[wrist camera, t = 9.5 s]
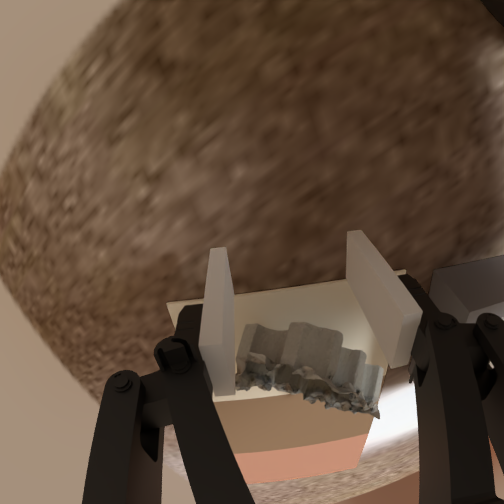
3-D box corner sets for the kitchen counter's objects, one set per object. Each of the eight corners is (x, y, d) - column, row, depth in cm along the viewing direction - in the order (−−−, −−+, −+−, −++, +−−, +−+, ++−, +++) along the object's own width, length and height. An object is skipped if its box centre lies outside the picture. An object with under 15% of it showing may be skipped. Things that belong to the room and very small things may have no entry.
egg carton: (226, 319, 20) (205, 381, 18) (339, 316, 15) (321, 399, 13) (308, 371, 26) (296, 417, 24) (392, 374, 21) (383, 427, 19)
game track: (166, 302, 20) (166, 304, 20) (405, 269, 20) (406, 270, 20) (242, 482, 36) (242, 484, 36) (355, 466, 36) (356, 467, 36)
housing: (433, 269, 20) (469, 312, 16) (526, 249, 20) (561, 280, 16) (408, 370, 25) (427, 412, 21) (494, 342, 25) (517, 374, 21)
